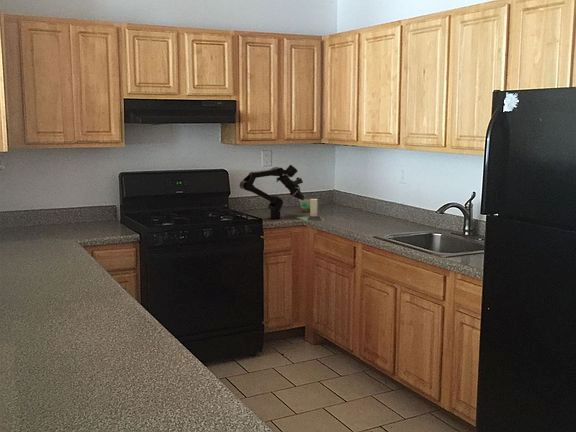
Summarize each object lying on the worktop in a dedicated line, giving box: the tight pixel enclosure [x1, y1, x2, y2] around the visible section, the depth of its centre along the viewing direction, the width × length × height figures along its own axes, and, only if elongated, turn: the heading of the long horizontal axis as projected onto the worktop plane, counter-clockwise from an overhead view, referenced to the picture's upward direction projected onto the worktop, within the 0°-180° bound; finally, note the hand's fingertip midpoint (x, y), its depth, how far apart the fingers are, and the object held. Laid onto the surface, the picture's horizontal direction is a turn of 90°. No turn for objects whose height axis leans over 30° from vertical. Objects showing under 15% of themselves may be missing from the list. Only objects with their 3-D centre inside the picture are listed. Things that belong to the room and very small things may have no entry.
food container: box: [298, 198, 311, 214], centre depth 461 cm, size 12×6×10 cm, turn 73°
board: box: [296, 215, 325, 222], centre depth 433 cm, size 14×17×2 cm
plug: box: [309, 198, 319, 216], centre depth 437 cm, size 5×5×12 cm
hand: (303, 198), depth 437 cm, fingers open, 9 cm apart
